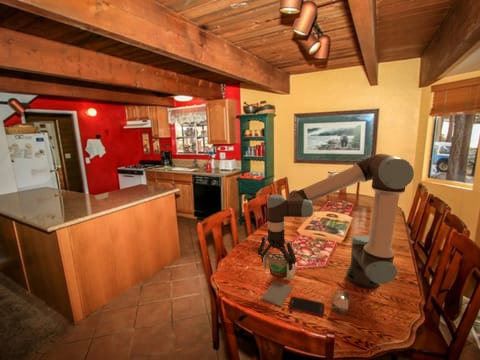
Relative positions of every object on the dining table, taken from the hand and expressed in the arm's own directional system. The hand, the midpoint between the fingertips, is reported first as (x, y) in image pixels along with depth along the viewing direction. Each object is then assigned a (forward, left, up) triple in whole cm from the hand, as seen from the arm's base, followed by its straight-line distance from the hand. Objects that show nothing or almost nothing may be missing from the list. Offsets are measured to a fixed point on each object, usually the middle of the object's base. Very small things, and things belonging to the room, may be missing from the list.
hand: (276, 272), depth 111 cm
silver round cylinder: (-28, -4, -11) cm, 31 cm away
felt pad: (0, 0, -11) cm, 11 cm away
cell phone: (-15, +2, -12) cm, 19 cm away
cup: (+1, -15, -11) cm, 19 cm away
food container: (-1, 0, -2) cm, 2 cm away
